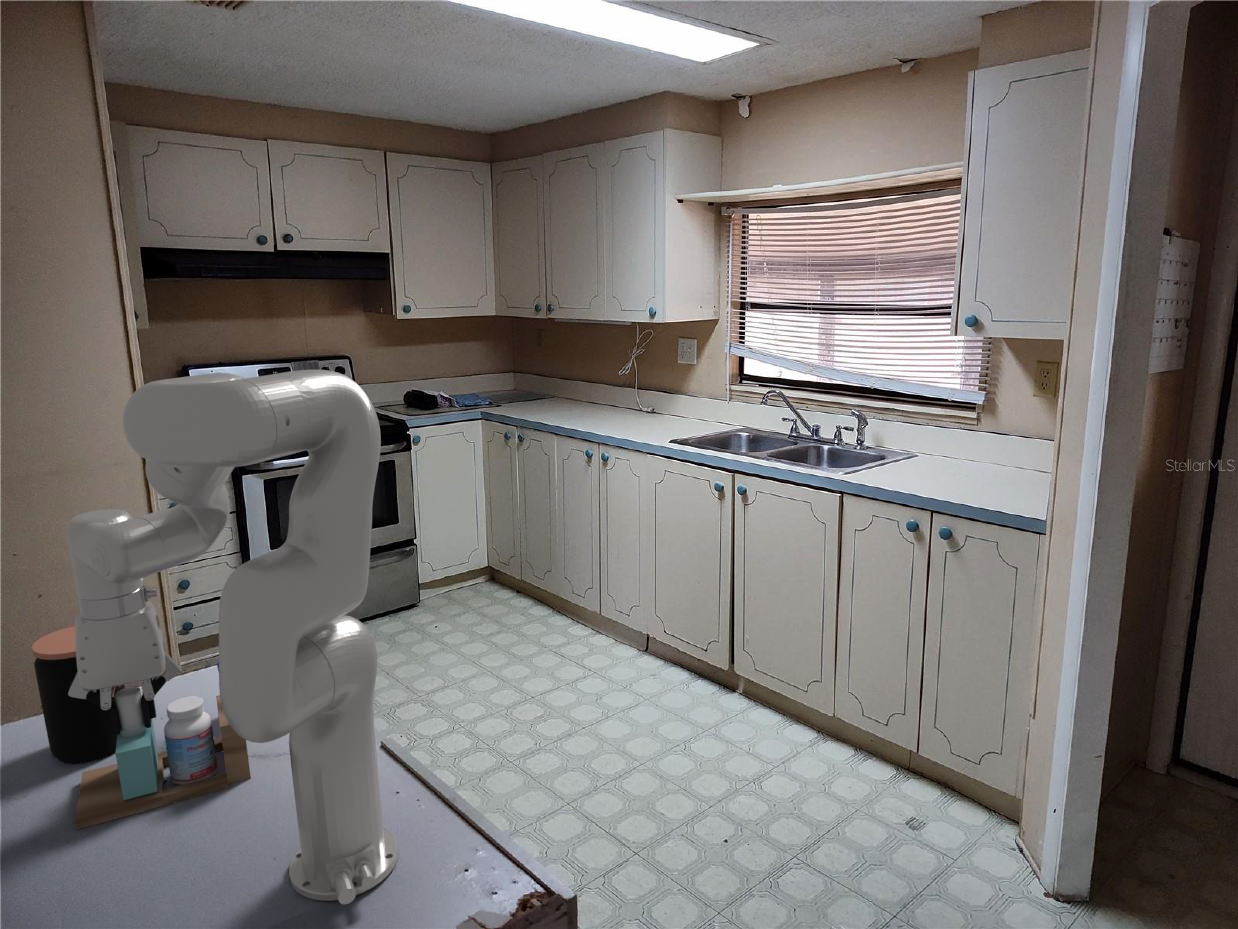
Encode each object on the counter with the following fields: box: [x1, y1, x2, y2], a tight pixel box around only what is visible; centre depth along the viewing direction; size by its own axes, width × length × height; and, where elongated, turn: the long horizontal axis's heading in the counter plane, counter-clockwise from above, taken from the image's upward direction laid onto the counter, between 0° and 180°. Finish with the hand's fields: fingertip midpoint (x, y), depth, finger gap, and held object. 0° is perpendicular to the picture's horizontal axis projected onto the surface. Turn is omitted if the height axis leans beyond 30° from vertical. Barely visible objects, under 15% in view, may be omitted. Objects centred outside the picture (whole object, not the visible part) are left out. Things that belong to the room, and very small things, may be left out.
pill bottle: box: [163, 695, 219, 786], centre depth 118 cm, size 6×6×11 cm
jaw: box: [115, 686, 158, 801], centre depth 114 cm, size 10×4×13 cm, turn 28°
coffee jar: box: [30, 625, 127, 765], centre depth 124 cm, size 11×11×18 cm
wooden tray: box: [74, 694, 252, 831], centre depth 116 cm, size 12×21×9 cm, turn 118°
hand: (133, 726), depth 114 cm, fingers closed on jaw, 3 cm apart
